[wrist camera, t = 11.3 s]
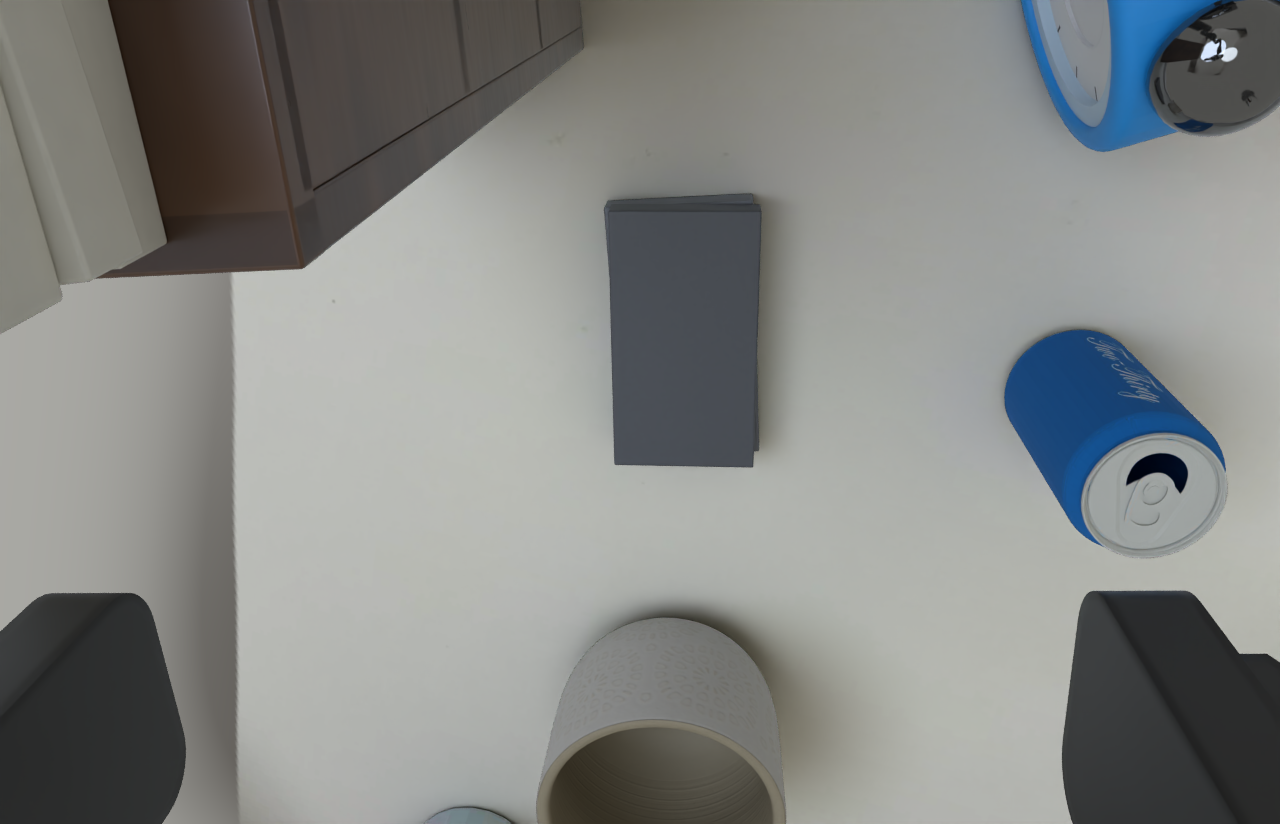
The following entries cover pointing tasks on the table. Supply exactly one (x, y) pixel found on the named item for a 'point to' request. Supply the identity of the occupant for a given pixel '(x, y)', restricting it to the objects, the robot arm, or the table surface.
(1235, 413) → the table surface
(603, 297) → the table surface
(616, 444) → the grey book pile
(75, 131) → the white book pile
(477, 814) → the mug
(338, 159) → the bookcase
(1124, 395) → the beverage can
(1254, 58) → the alarm clock
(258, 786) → the table surface
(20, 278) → the white flat block
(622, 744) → the planter
